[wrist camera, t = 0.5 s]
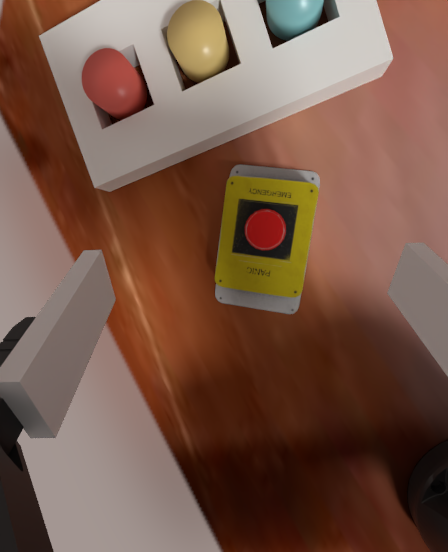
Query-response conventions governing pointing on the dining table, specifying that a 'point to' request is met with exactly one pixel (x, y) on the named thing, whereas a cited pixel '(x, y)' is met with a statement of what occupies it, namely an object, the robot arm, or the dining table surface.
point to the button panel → (212, 92)
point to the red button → (114, 83)
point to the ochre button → (198, 40)
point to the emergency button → (265, 237)
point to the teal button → (292, 17)
